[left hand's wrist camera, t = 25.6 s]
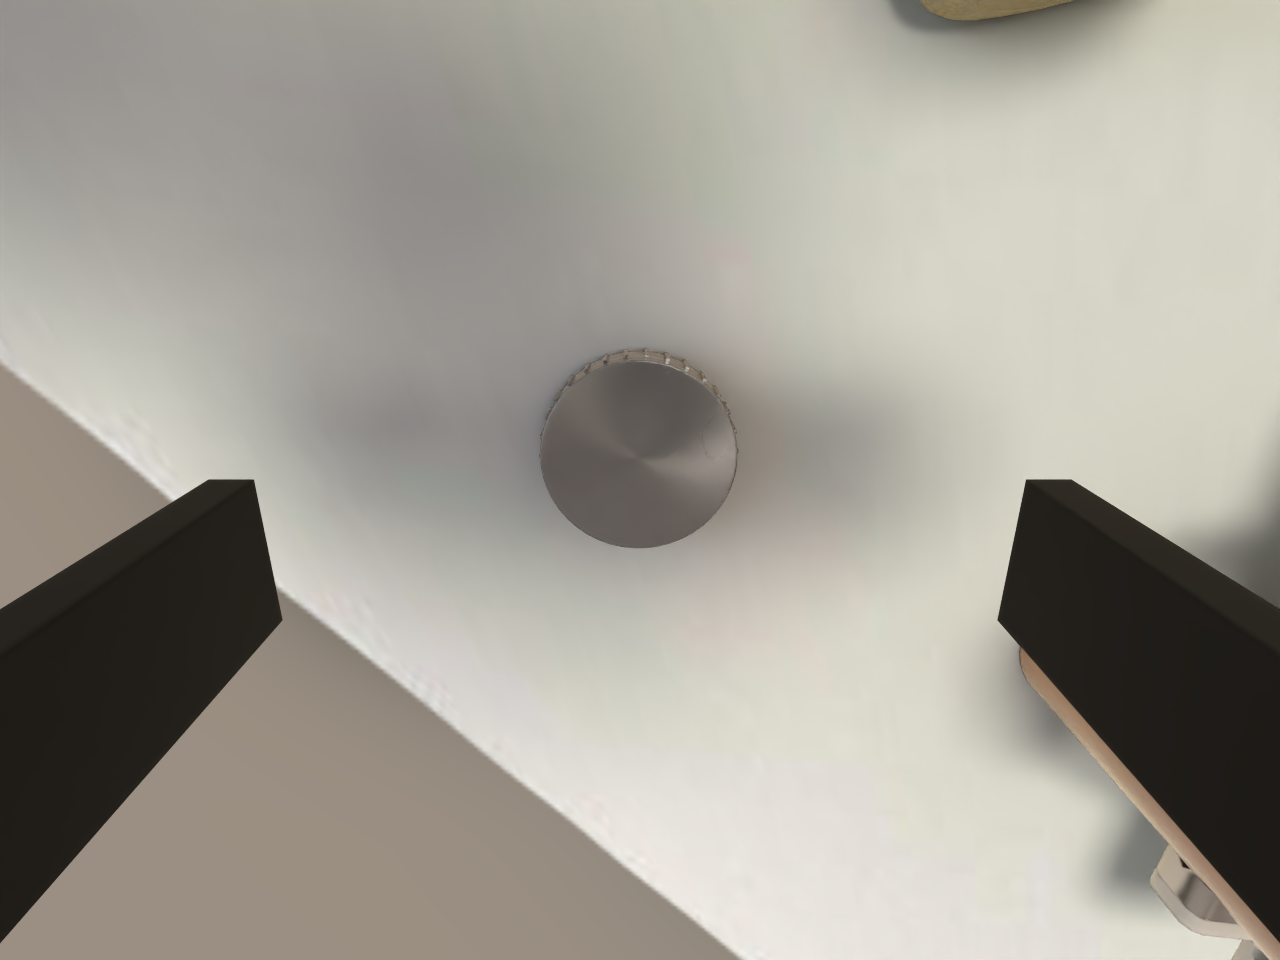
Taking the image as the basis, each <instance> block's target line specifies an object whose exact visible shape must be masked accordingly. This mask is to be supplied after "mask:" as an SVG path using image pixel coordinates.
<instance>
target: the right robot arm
mask: <svg viewBox="0 0 1280 960" xmlns="http://www.w3.org/2000/svg"><path fill="white" fill-rule="evenodd" d="M1150 884H1151V887H1152V889H1153V890H1154V891H1155V892H1156V894H1157V895H1158V896H1159V897H1160V899H1161V900H1162V901H1163V902H1164V904H1165V905H1166V906H1167V908H1168V909H1169V910H1170V911H1171V913H1172V914H1173V915H1174V916H1175V918H1176V919H1177V920H1178V921H1179V922H1180V923H1181V924H1183V925H1184V926H1185V927H1187V928H1188V929H1190V930H1191V931H1193V932H1196V933H1198V934H1201V935H1205V936H1214V937H1223V938H1232V939H1242V941H1241V943H1240V945H1239V947H1238V948H1237V950H1236V952H1235V954H1234V955H1233V957H1232V959H1231V960H1269V959H1268V958H1267V957H1266V956H1265V955H1264V954H1263V952H1262V951H1261V950H1260V949H1259V948H1258V947H1257V945H1256V944H1255V943H1254V942H1253V941H1252V940H1251V939H1250V937H1249V936H1248V935H1247V934H1246V933H1245V932H1244V930H1243V929H1242V928H1241V927H1240V926H1239V925H1238V924H1237V922H1236V921H1235V920H1234V919H1233V918H1232V917H1231V915H1230V914H1229V913H1228V912H1227V911H1226V910H1225V909H1224V907H1223V906H1222V905H1221V904H1220V903H1219V902H1218V900H1217V899H1216V898H1215V897H1214V896H1213V895H1212V894H1211V892H1210V891H1209V890H1208V889H1207V888H1206V887H1205V885H1204V884H1203V883H1202V882H1201V881H1200V880H1199V879H1198V877H1197V876H1196V875H1195V874H1194V873H1193V872H1192V870H1191V869H1190V868H1189V867H1188V866H1187V865H1186V864H1185V862H1184V861H1183V860H1182V859H1181V858H1180V857H1179V856H1178V854H1177V853H1176V852H1175V851H1174V850H1173V849H1172V847H1171V846H1170V845H1169V844H1168V845H1167V847H1166V849H1165V851H1164V853H1163V855H1162V857H1161V859H1160V861H1159V863H1158V865H1157V866H1156V868H1155V870H1154V872H1153V874H1152V876H1151V879H1150Z"/></svg>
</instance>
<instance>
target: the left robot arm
mask: <svg viewBox="0 0 1280 960" xmlns="http://www.w3.org/2000/svg"><path fill="white" fill-rule="evenodd" d="M281 621H282V615H281V610H280V606H279V601H278V596H277V591H276V586H275V581H274V576H273V571H272V566H271V561H270V556H269V552H268V547H267V542H266V537H265V532H264V527H263V522H262V517H261V512H260V507H259V503H258V498H257V493H256V488H255V483H254V480H207V481H206V482H204V483H202V484H201V485H199V486H198V487H196V488H194V489H193V490H191V491H190V492H188V493H186V494H185V495H183V496H182V497H180V498H178V499H177V500H175V501H174V502H172V503H170V504H169V505H167V506H166V507H164V508H162V509H161V510H159V511H157V512H156V513H154V514H153V515H151V516H149V517H148V518H146V519H145V520H143V521H141V522H140V523H138V524H137V525H135V526H133V527H132V528H130V529H129V530H127V531H125V532H124V533H122V534H121V535H119V536H117V537H116V538H114V539H112V540H111V541H109V542H108V543H106V544H105V545H103V546H101V547H100V548H98V549H96V550H95V551H93V552H92V553H90V554H88V555H87V556H85V557H84V558H82V559H80V560H79V561H77V562H76V563H74V564H72V565H71V566H69V567H68V568H66V569H64V570H63V571H61V572H60V573H58V574H56V575H55V576H53V577H51V578H50V579H48V580H47V581H45V582H43V583H42V584H40V585H39V586H37V587H35V588H34V589H32V590H31V591H29V592H27V593H26V594H24V595H23V596H21V597H19V598H18V599H16V600H14V601H13V602H11V603H10V604H8V605H7V606H5V607H3V608H2V609H0V943H1V942H2V940H3V939H4V938H5V937H6V936H7V935H8V934H9V932H10V931H11V930H12V929H13V928H14V927H15V926H16V924H17V923H18V922H19V921H20V920H21V919H22V918H23V916H24V915H25V914H26V913H27V912H28V911H29V910H30V908H31V907H32V906H33V905H34V904H35V903H36V902H37V900H38V899H39V898H40V897H41V896H42V895H43V894H44V892H45V891H46V890H47V889H48V888H49V887H50V886H51V884H52V883H53V882H54V881H55V880H56V879H57V877H58V876H59V875H60V874H61V873H62V872H63V871H64V869H65V868H66V867H67V866H68V865H69V864H70V863H71V862H72V860H73V859H74V858H75V857H76V856H77V855H78V854H79V852H80V851H81V850H82V849H83V848H84V847H85V845H86V844H87V843H88V842H89V841H90V840H91V839H92V837H93V836H94V835H95V834H96V833H97V832H98V831H99V829H100V828H101V827H102V826H103V825H104V824H105V823H106V821H107V820H108V819H109V818H110V817H111V816H112V815H113V813H114V812H115V811H116V810H117V809H118V808H119V807H120V805H121V804H122V803H123V802H124V801H125V800H126V799H127V797H128V796H129V795H130V794H131V793H132V792H133V791H134V789H135V788H136V787H137V786H138V785H139V784H140V783H141V781H142V780H143V779H144V778H145V777H146V776H147V775H148V773H149V772H150V771H151V770H152V769H153V768H154V767H155V765H156V764H157V763H158V762H159V761H160V760H161V759H162V757H163V756H164V755H165V754H166V753H167V752H168V751H169V749H170V748H171V747H172V746H173V745H174V744H175V743H176V741H177V740H178V739H179V738H180V737H181V736H182V735H183V733H184V732H185V731H186V730H187V729H188V728H189V727H190V725H191V724H192V723H193V722H194V721H195V720H196V718H197V717H198V716H199V715H200V714H201V713H202V712H203V710H204V709H205V708H206V707H207V706H208V705H209V704H210V703H211V701H212V700H213V699H214V698H215V697H216V696H217V694H218V693H219V692H220V691H221V690H222V689H223V688H224V686H225V685H226V684H227V683H228V682H229V681H230V680H231V678H232V677H233V676H234V675H235V674H236V673H237V672H238V670H239V669H240V668H241V667H242V666H243V665H244V664H245V662H246V661H247V660H248V659H249V658H250V657H251V656H252V654H253V653H254V652H255V651H256V650H257V649H258V648H259V646H260V645H261V644H262V643H263V642H264V641H265V640H266V638H267V637H268V636H269V635H270V634H271V633H272V632H273V630H274V629H275V628H276V627H277V626H278V625H279V624H280V622H281ZM998 621H999V622H1000V624H1001V625H1002V626H1003V627H1004V628H1005V629H1006V630H1007V632H1008V633H1009V634H1010V635H1011V636H1012V637H1013V638H1014V640H1015V641H1016V642H1017V643H1018V644H1019V645H1020V646H1021V648H1022V649H1023V650H1024V651H1025V652H1026V653H1027V654H1028V656H1029V657H1030V658H1031V659H1032V660H1033V661H1034V662H1035V664H1036V665H1037V666H1038V667H1039V668H1040V669H1041V670H1042V672H1043V673H1044V674H1045V675H1046V676H1047V677H1048V678H1049V680H1050V681H1051V682H1052V683H1053V684H1054V685H1055V686H1056V688H1057V689H1058V690H1059V691H1060V692H1061V693H1062V695H1063V696H1064V697H1065V698H1066V699H1067V700H1068V701H1069V703H1070V704H1071V705H1072V706H1073V707H1074V708H1075V709H1076V711H1077V712H1078V713H1079V714H1080V715H1081V716H1082V717H1083V719H1084V720H1085V721H1086V722H1087V723H1088V724H1089V725H1090V727H1091V728H1092V729H1093V730H1094V731H1095V732H1096V733H1097V735H1098V736H1099V737H1100V738H1101V739H1102V740H1103V741H1104V743H1105V744H1106V745H1107V746H1108V747H1109V748H1110V749H1111V751H1112V752H1113V753H1114V754H1115V755H1116V756H1117V757H1118V759H1119V760H1120V761H1121V762H1122V763H1123V764H1124V765H1125V767H1126V768H1127V769H1128V770H1129V771H1130V772H1131V773H1132V775H1133V776H1134V777H1135V778H1136V779H1137V780H1138V781H1139V783H1140V784H1141V785H1142V786H1143V787H1144V788H1145V789H1146V791H1147V792H1148V793H1149V794H1150V795H1151V796H1152V797H1153V799H1154V800H1155V801H1156V802H1157V803H1158V804H1159V805H1160V807H1161V808H1162V809H1163V810H1164V811H1165V812H1166V813H1167V815H1168V816H1169V817H1170V818H1171V819H1172V820H1173V821H1174V823H1175V824H1176V825H1177V826H1178V827H1179V828H1180V829H1181V831H1182V832H1183V833H1184V834H1185V835H1186V836H1187V838H1188V839H1189V840H1190V841H1191V842H1192V843H1193V844H1194V846H1195V847H1196V848H1197V849H1198V850H1199V851H1200V852H1201V854H1202V855H1203V856H1204V857H1205V858H1206V859H1207V860H1208V862H1209V863H1210V864H1211V865H1212V866H1213V867H1214V868H1215V870H1216V871H1217V872H1218V873H1219V874H1220V875H1221V876H1222V878H1223V879H1224V880H1225V881H1226V882H1227V883H1228V884H1229V886H1230V887H1231V888H1232V889H1233V890H1234V891H1235V892H1236V894H1237V895H1238V896H1239V897H1240V898H1241V899H1242V900H1243V902H1244V903H1245V904H1246V905H1247V906H1248V907H1249V908H1250V910H1251V911H1252V912H1253V913H1254V914H1255V915H1256V916H1257V918H1258V919H1259V920H1260V921H1261V922H1262V923H1263V924H1264V926H1265V927H1266V928H1267V929H1268V930H1269V931H1270V932H1271V934H1272V935H1273V936H1274V937H1275V938H1276V939H1277V940H1278V942H1279V943H1280V609H1278V608H1277V607H1275V606H1274V605H1272V604H1270V603H1269V602H1267V601H1266V600H1264V599H1262V598H1261V597H1259V596H1257V595H1256V594H1254V593H1253V592H1251V591H1249V590H1248V589H1246V588H1245V587H1243V586H1241V585H1240V584H1238V583H1237V582H1235V581H1233V580H1232V579H1230V578H1229V577H1227V576H1225V575H1224V574H1222V573H1221V572H1219V571H1217V570H1216V569H1214V568H1213V567H1211V566H1209V565H1208V564H1206V563H1204V562H1203V561H1201V560H1200V559H1198V558H1196V557H1195V556H1193V555H1192V554H1190V553H1188V552H1187V551H1185V550H1184V549H1182V548H1180V547H1179V546H1177V545H1176V544H1174V543H1172V542H1171V541H1169V540H1168V539H1166V538H1164V537H1163V536H1161V535H1159V534H1158V533H1156V532H1155V531H1153V530H1151V529H1150V528H1148V527H1147V526H1145V525H1143V524H1142V523H1140V522H1139V521H1137V520H1135V519H1134V518H1132V517H1131V516H1129V515H1127V514H1126V513H1124V512H1123V511H1121V510H1119V509H1118V508H1116V507H1115V506H1113V505H1111V504H1110V503H1108V502H1106V501H1105V500H1103V499H1102V498H1100V497H1098V496H1097V495H1095V494H1094V493H1092V492H1090V491H1089V490H1087V489H1086V488H1084V487H1082V486H1081V485H1079V484H1078V483H1076V482H1074V481H1073V480H1026V483H1025V488H1024V493H1023V498H1022V502H1021V507H1020V512H1019V517H1018V522H1017V527H1016V532H1015V537H1014V542H1013V547H1012V552H1011V556H1010V561H1009V566H1008V571H1007V576H1006V581H1005V586H1004V591H1003V596H1002V601H1001V606H1000V610H999V615H998Z"/></svg>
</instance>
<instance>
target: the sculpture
mask: <svg viewBox="0 0 1280 960" xmlns="http://www.w3.org/2000/svg"><path fill="white" fill-rule="evenodd" d="M1069 1H1073V0H920V2H921V3H922V4H923V6H924V7H925V8H926V9H927V10H929V11H930V12H932V13H934V14H936V15H939V16H941V17H944V18H948V19H951V20H980V19H987V18H994V17H1001V16H1008V15H1013V14H1019V13H1024V12H1030V11H1035V10H1039V9H1043V8H1047V7H1050V6H1054V5H1058V4H1062V3H1066V2H1069Z"/></svg>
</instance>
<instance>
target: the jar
mask: <svg viewBox="0 0 1280 960" xmlns="http://www.w3.org/2000/svg"><path fill="white" fill-rule="evenodd" d="M1020 660H1021V666H1022V670H1023V673H1024V675H1025V677H1026V679H1027V681H1028V682H1029V683H1030V685H1031V686H1032V687H1033V688H1034V689H1035V691H1036V692H1037V693H1038V694H1039V695H1040V696H1041V698H1042V699H1043V700H1044V701H1045V702H1046V703H1047V704H1048V706H1049V707H1050V708H1051V709H1052V710H1053V711H1054V713H1055V714H1056V715H1057V716H1058V717H1059V718H1060V719H1061V721H1062V722H1063V723H1064V724H1065V725H1066V726H1067V728H1068V729H1069V730H1070V731H1071V732H1072V733H1073V734H1074V736H1075V737H1076V738H1077V739H1078V740H1079V741H1080V743H1081V744H1082V745H1083V746H1084V747H1085V748H1086V749H1087V751H1088V752H1089V753H1090V754H1091V755H1092V756H1093V758H1094V759H1095V760H1096V761H1097V762H1098V763H1099V764H1100V766H1101V767H1102V768H1103V769H1104V770H1105V771H1106V772H1107V774H1108V775H1109V776H1110V777H1111V778H1112V779H1113V781H1114V782H1115V783H1116V784H1117V785H1118V786H1119V787H1120V789H1121V790H1122V791H1123V792H1124V793H1125V794H1126V796H1127V797H1128V798H1129V799H1130V800H1131V801H1132V802H1133V804H1134V805H1135V806H1136V807H1137V808H1138V809H1139V811H1140V812H1141V813H1142V814H1143V815H1144V816H1145V817H1146V819H1147V820H1148V821H1149V822H1150V823H1151V824H1152V826H1153V827H1154V828H1155V829H1156V830H1157V831H1158V832H1159V834H1160V835H1161V836H1162V837H1163V838H1164V839H1165V841H1166V842H1167V843H1168V844H1169V845H1170V846H1171V847H1172V849H1173V850H1174V851H1175V852H1176V853H1177V854H1178V856H1179V857H1180V858H1181V859H1182V860H1183V861H1184V862H1185V864H1186V865H1187V866H1188V867H1189V868H1190V869H1191V870H1192V872H1193V873H1194V874H1195V875H1196V876H1197V877H1198V879H1199V880H1200V881H1201V882H1202V883H1203V884H1204V885H1205V887H1206V888H1207V889H1208V890H1209V891H1210V892H1211V894H1212V895H1213V896H1214V897H1215V898H1216V899H1217V900H1218V902H1219V903H1220V904H1221V905H1222V906H1223V907H1224V909H1225V910H1226V911H1227V912H1228V913H1229V914H1230V915H1231V917H1232V918H1233V919H1234V920H1235V921H1236V922H1237V924H1238V925H1239V926H1240V927H1241V928H1242V929H1243V930H1244V932H1245V933H1246V934H1247V935H1248V936H1249V937H1250V939H1251V940H1252V941H1253V942H1254V943H1255V944H1256V945H1257V947H1258V948H1259V949H1260V950H1261V951H1262V952H1263V954H1264V955H1265V956H1266V957H1267V958H1268V959H1269V960H1280V943H1279V942H1278V940H1277V939H1276V938H1275V937H1274V936H1273V935H1272V934H1271V932H1270V931H1269V930H1268V929H1267V928H1266V927H1265V926H1264V924H1263V923H1262V922H1261V921H1260V920H1259V919H1258V918H1257V916H1256V915H1255V914H1254V913H1253V912H1252V911H1251V910H1250V908H1249V907H1248V906H1247V905H1246V904H1245V903H1244V902H1243V900H1242V899H1241V898H1240V897H1239V896H1238V895H1237V894H1236V892H1235V891H1234V890H1233V889H1232V888H1231V887H1230V886H1229V884H1228V883H1227V882H1226V881H1225V880H1224V879H1223V878H1222V876H1221V875H1220V874H1219V873H1218V872H1217V871H1216V870H1215V868H1214V867H1213V866H1212V865H1211V864H1210V863H1209V862H1208V860H1207V859H1206V858H1205V857H1204V856H1203V855H1202V854H1201V852H1200V851H1199V850H1198V849H1197V848H1196V847H1195V846H1194V844H1193V843H1192V842H1191V841H1190V840H1189V839H1188V838H1187V836H1186V835H1185V834H1184V833H1183V832H1182V831H1181V829H1180V828H1179V827H1178V826H1177V825H1176V824H1175V823H1174V821H1173V820H1172V819H1171V818H1170V817H1169V816H1168V815H1167V813H1166V812H1165V811H1164V810H1163V809H1162V808H1161V807H1160V805H1159V804H1158V803H1157V802H1156V801H1155V800H1154V799H1153V797H1152V796H1151V795H1150V794H1149V793H1148V792H1147V791H1146V789H1145V788H1144V787H1143V786H1142V785H1141V784H1140V783H1139V781H1138V780H1137V779H1136V778H1135V777H1134V776H1133V775H1132V773H1131V772H1130V771H1129V770H1128V769H1127V768H1126V767H1125V765H1124V764H1123V763H1122V762H1121V761H1120V760H1119V759H1118V757H1117V756H1116V755H1115V754H1114V753H1113V752H1112V751H1111V749H1110V748H1109V747H1108V746H1107V745H1106V744H1105V743H1104V741H1103V740H1102V739H1101V738H1100V737H1099V736H1098V735H1097V733H1096V732H1095V731H1094V730H1093V729H1092V728H1091V727H1090V725H1089V724H1088V723H1087V722H1086V721H1085V720H1084V719H1083V717H1082V716H1081V715H1080V714H1079V713H1078V712H1077V711H1076V709H1075V708H1074V707H1073V706H1072V705H1071V704H1070V703H1069V701H1068V700H1067V699H1066V698H1065V697H1064V696H1063V695H1062V693H1061V692H1060V691H1059V690H1058V689H1057V688H1056V686H1055V685H1054V684H1053V683H1052V682H1051V681H1050V680H1049V678H1048V677H1047V676H1046V675H1045V674H1044V673H1043V672H1042V670H1041V669H1040V668H1039V667H1038V666H1037V665H1036V664H1035V662H1034V661H1033V660H1032V659H1031V658H1030V657H1029V656H1028V654H1027V653H1026V652H1025V651H1024V650H1023V649H1022V648H1021V649H1020Z"/></svg>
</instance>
